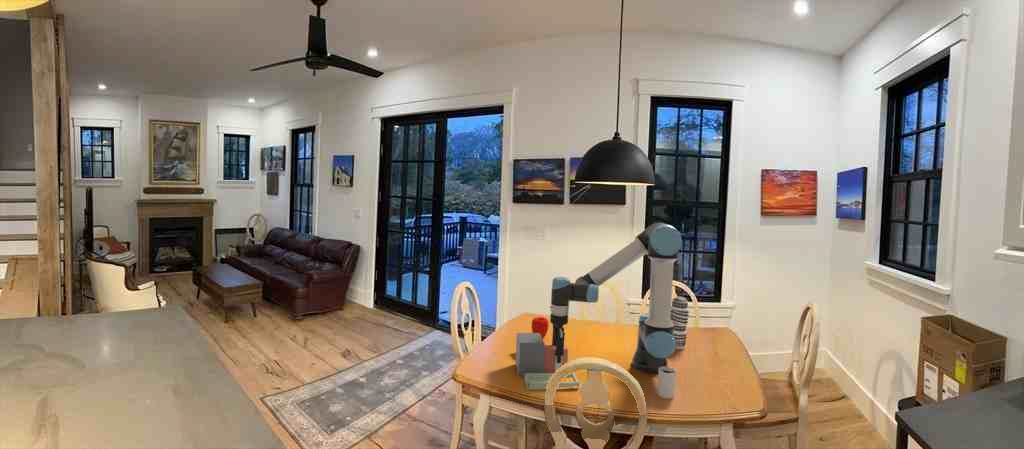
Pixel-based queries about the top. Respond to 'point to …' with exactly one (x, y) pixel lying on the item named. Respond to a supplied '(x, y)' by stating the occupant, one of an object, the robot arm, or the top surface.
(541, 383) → the tray
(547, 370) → the pink rectangular box
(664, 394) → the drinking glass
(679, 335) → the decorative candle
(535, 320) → the apple
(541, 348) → the dispenser
